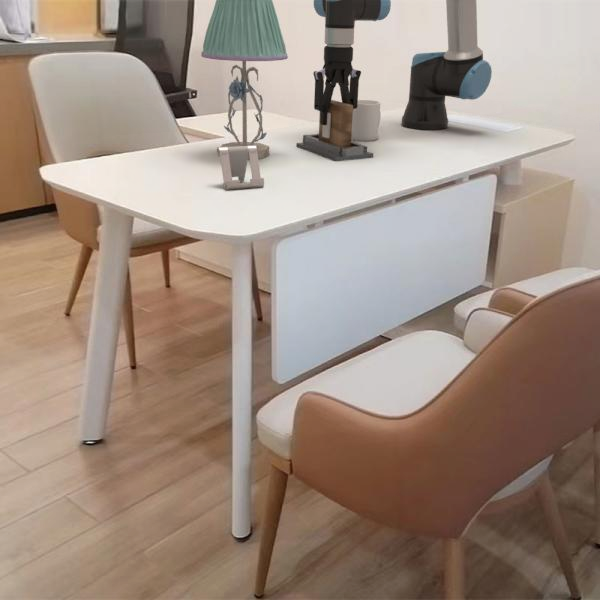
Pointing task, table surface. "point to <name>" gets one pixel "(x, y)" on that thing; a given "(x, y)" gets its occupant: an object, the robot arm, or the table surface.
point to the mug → (366, 120)
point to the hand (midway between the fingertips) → (334, 136)
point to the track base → (333, 149)
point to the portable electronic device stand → (239, 166)
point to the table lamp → (244, 52)
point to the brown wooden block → (339, 124)
